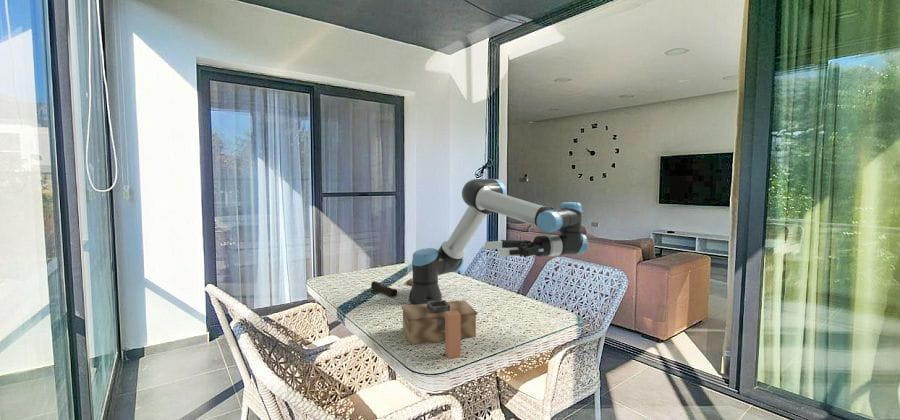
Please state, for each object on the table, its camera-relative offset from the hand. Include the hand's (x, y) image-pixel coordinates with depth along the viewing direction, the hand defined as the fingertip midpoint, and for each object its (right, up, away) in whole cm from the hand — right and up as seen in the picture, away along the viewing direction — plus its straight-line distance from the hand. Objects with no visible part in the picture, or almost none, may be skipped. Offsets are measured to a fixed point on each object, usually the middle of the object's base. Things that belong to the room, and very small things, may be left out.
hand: (492, 249), depth 143 cm
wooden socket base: (-19, -32, +7) cm, 37 cm away
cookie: (-33, -26, +74) cm, 85 cm away
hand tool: (-48, -28, +57) cm, 80 cm away
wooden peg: (-14, -33, -11) cm, 38 cm away
